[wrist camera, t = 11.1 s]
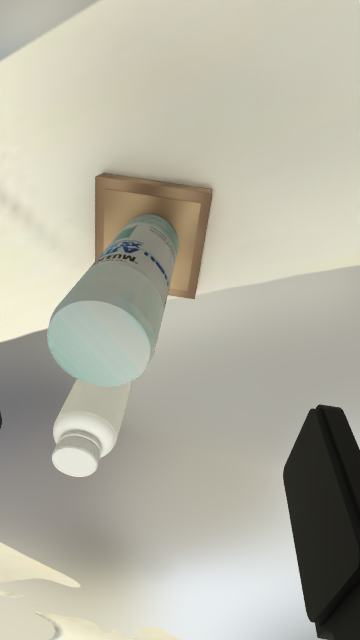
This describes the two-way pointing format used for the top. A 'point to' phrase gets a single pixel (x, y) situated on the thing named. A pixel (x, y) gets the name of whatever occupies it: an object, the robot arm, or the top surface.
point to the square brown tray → (162, 200)
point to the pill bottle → (88, 426)
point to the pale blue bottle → (117, 306)
